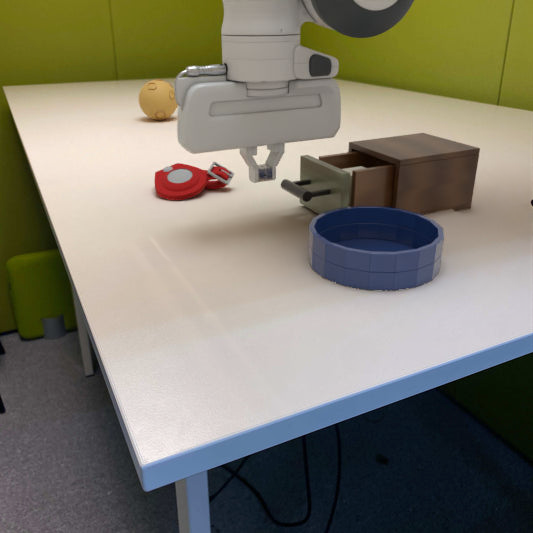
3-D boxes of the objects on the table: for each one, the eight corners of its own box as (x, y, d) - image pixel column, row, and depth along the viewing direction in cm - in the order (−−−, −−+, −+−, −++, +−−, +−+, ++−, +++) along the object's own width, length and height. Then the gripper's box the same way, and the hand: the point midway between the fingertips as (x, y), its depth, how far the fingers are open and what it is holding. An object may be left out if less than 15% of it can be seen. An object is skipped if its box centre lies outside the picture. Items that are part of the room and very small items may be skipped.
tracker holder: (169, 198, 80) (138, 168, 86) (175, 221, 83) (144, 191, 89) (238, 166, 84) (204, 140, 90) (241, 190, 87) (207, 163, 93)
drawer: (310, 231, 68) (312, 178, 65) (273, 207, 76) (272, 159, 74) (417, 211, 75) (422, 161, 72) (371, 190, 83) (374, 145, 80)
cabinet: (394, 223, 73) (400, 159, 69) (345, 199, 82) (348, 141, 79) (470, 208, 78) (480, 148, 74) (416, 186, 88) (423, 132, 84)
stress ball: (137, 123, 138) (133, 81, 134) (144, 116, 147) (140, 77, 143) (177, 122, 138) (174, 81, 134) (181, 115, 147) (178, 76, 143)
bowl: (384, 232, 70) (387, 199, 68) (467, 277, 58) (474, 238, 56) (286, 253, 64) (286, 217, 62) (356, 307, 53) (359, 265, 51)
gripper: (181, 69, 55) (191, 199, 61) (351, 60, 64) (344, 176, 69) (164, 64, 61) (174, 185, 67) (322, 56, 69) (318, 164, 75)
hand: (262, 180), depth 68 cm, fingers closed
